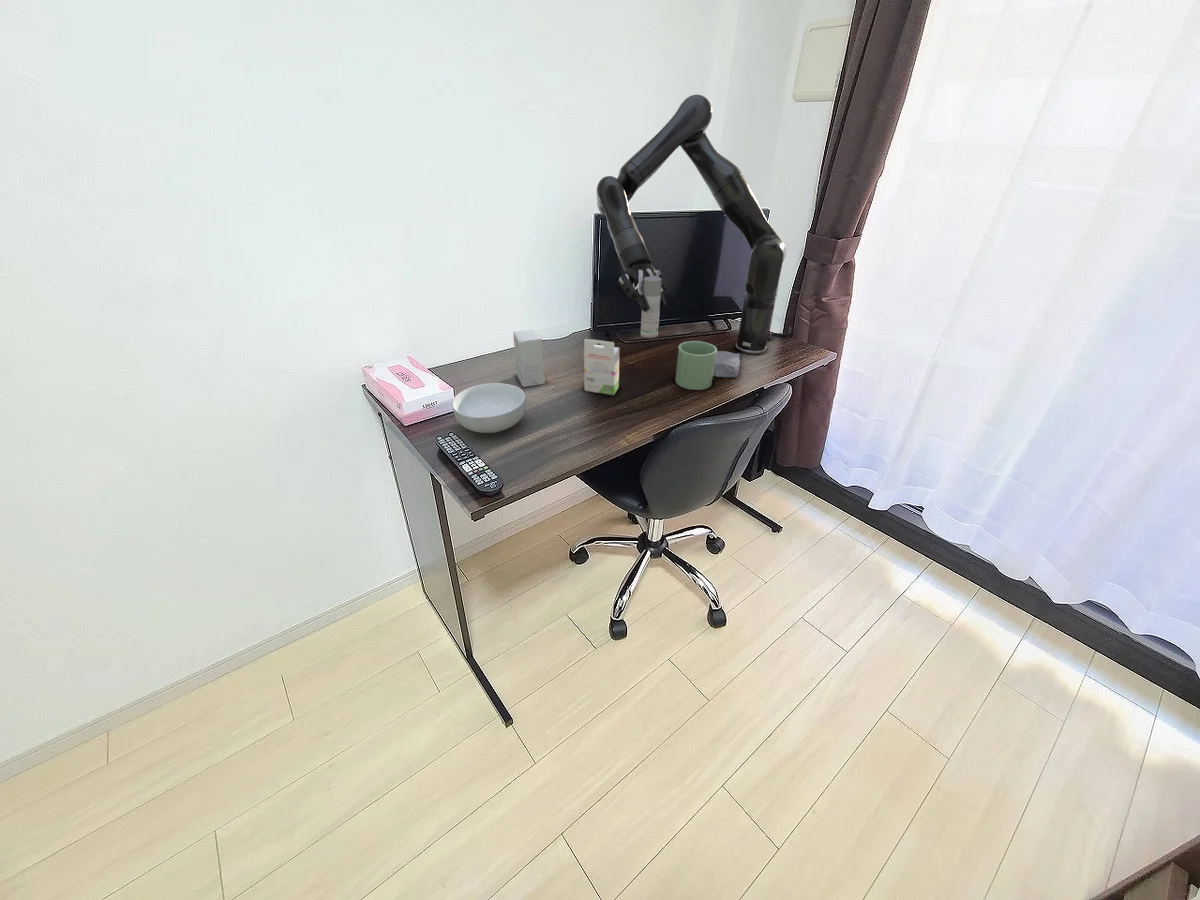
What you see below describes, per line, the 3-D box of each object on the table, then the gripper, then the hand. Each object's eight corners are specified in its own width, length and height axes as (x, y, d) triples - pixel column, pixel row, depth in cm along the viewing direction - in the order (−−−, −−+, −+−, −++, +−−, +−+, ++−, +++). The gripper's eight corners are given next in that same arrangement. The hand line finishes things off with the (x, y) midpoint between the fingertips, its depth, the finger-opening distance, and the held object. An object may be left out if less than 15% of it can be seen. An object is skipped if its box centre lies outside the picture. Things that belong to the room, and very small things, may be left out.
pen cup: (689, 371, 145) (693, 338, 140) (719, 382, 139) (724, 348, 134) (667, 381, 139) (670, 347, 134) (697, 393, 133) (702, 358, 128)
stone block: (705, 381, 144) (740, 378, 141) (703, 365, 141) (740, 362, 139) (706, 366, 153) (739, 363, 151) (705, 351, 151) (739, 347, 148)
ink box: (619, 388, 136) (621, 336, 127) (613, 396, 132) (615, 342, 123) (589, 383, 138) (589, 331, 130) (583, 390, 134) (582, 338, 126)
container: (650, 330, 138) (654, 275, 130) (661, 335, 135) (665, 279, 126) (636, 334, 136) (639, 277, 127) (647, 339, 132) (651, 281, 124)
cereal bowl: (482, 402, 128) (479, 377, 124) (540, 415, 123) (538, 389, 119) (441, 434, 115) (436, 407, 111) (503, 450, 109) (500, 422, 106)
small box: (545, 384, 137) (542, 339, 130) (522, 387, 135) (518, 341, 128) (538, 372, 143) (535, 328, 136) (516, 375, 142) (512, 331, 134)
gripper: (647, 256, 138) (670, 311, 136) (603, 262, 132) (626, 320, 130) (660, 239, 131) (684, 297, 129) (614, 244, 125) (638, 305, 123)
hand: (655, 308), depth 129 cm, fingers closed on container, 4 cm apart
